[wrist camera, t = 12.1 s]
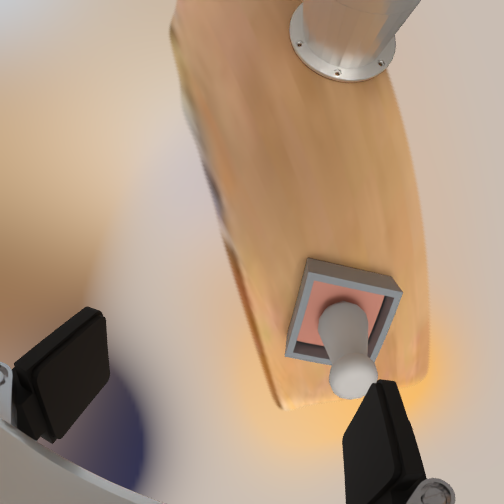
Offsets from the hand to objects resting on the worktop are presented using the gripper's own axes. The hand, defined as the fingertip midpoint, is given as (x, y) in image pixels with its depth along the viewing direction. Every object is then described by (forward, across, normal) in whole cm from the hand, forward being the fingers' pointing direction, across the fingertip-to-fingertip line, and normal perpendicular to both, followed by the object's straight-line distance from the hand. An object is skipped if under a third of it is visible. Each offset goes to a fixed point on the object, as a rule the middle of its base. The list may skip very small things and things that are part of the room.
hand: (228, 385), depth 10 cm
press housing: (+28, -10, +9) cm, 31 cm away
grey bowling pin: (+26, -9, +9) cm, 29 cm away
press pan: (+27, -10, +9) cm, 30 cm away
